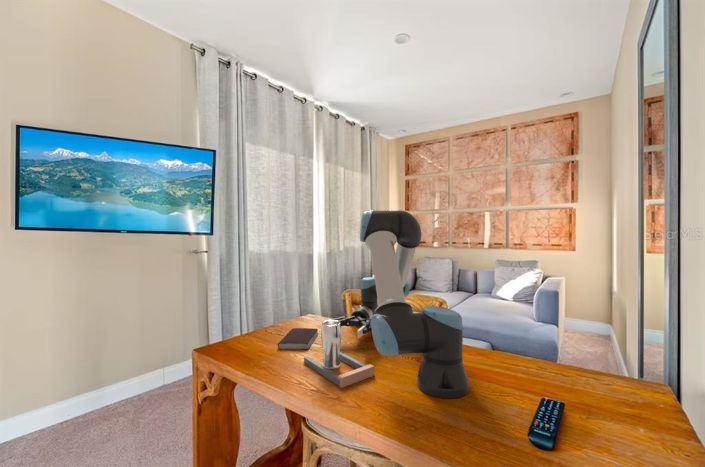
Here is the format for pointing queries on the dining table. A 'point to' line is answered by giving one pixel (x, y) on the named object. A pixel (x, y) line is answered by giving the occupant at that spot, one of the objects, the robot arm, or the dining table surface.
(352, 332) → the dining table surface
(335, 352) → the shiny metal tumbler
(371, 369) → the guide channel
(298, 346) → the book
